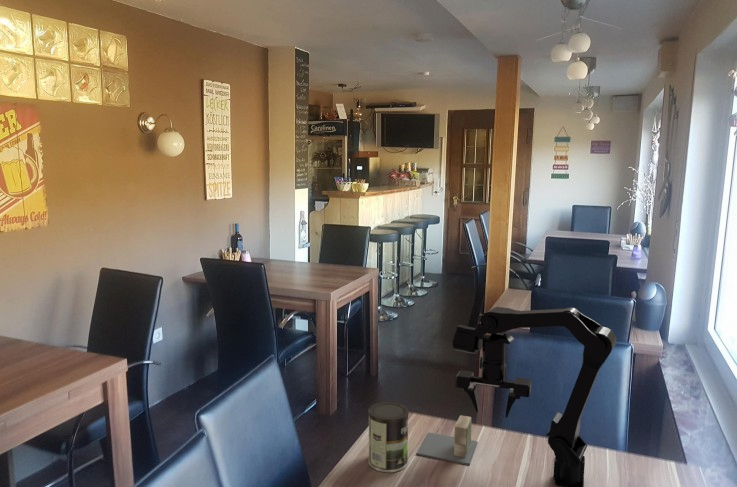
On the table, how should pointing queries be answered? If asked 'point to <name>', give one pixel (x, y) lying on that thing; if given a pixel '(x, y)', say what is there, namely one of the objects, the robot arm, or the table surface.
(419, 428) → the table surface
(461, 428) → the beech board
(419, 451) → the slate mat
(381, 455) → the coffee can
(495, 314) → the robot arm
